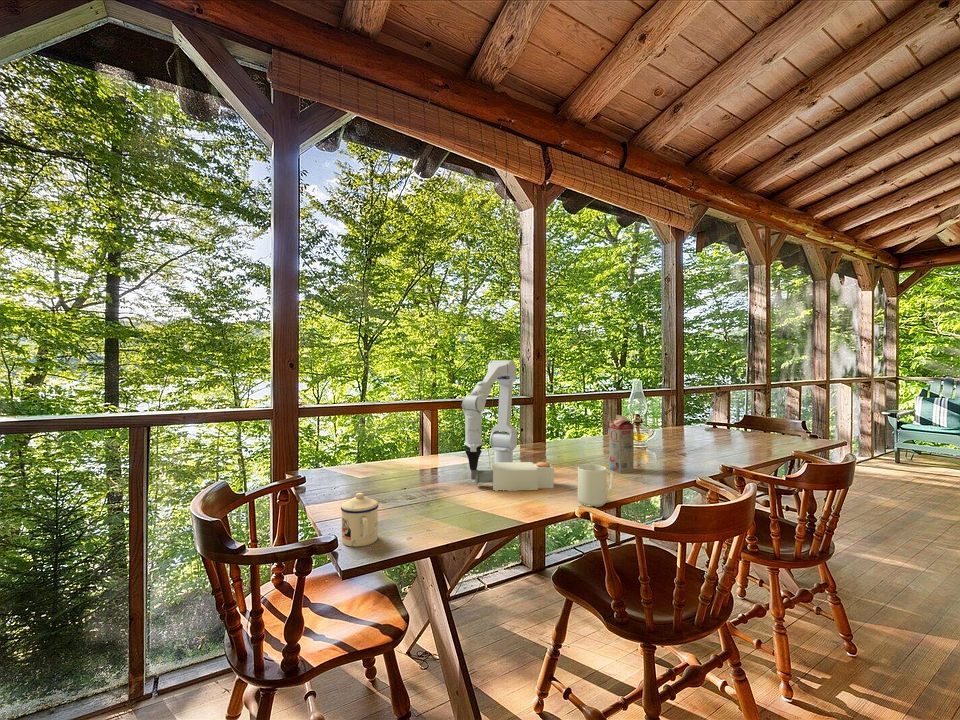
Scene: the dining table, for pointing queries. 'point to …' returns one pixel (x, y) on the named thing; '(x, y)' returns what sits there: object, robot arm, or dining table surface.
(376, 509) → the teacup with lid
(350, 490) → the dining table surface
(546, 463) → the plunger button
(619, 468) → the juice carton
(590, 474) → the mug
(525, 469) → the button housing
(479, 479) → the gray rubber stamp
